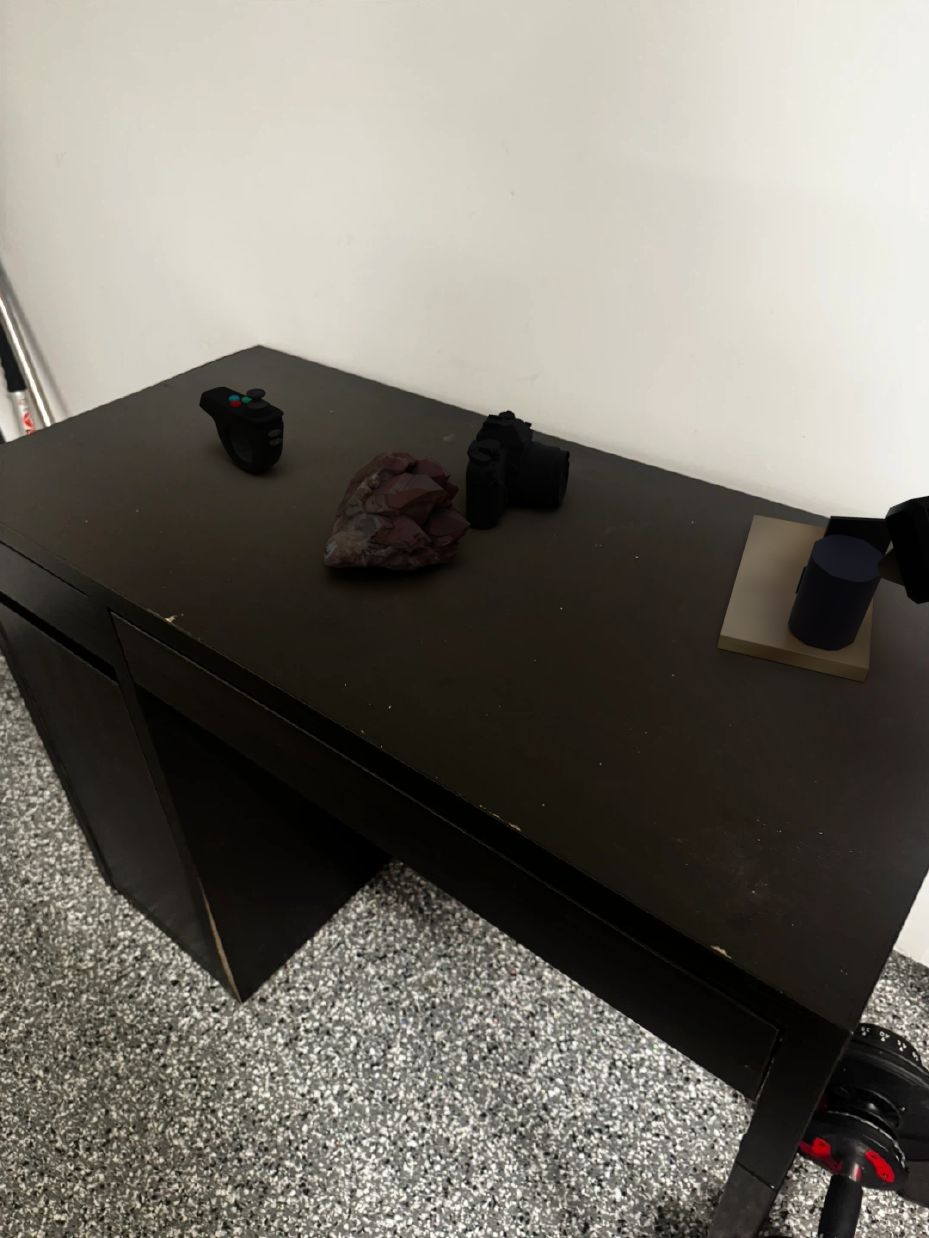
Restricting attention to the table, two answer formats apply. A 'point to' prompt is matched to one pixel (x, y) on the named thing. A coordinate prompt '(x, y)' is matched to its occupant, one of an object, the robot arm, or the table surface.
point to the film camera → (511, 470)
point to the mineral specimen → (397, 516)
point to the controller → (246, 426)
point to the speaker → (839, 582)
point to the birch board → (783, 603)
